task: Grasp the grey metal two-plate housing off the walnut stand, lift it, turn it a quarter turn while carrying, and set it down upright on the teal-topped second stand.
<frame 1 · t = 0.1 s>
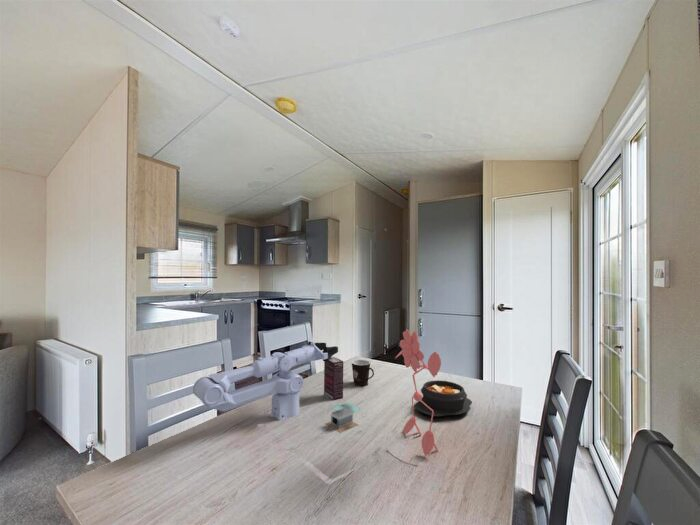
hand: (331, 347, 129), 22 cm above the table, tool horizontal, fingers open, 7 cm apart
stand b: (346, 411, 120), on the table
coffee mug: (361, 385, 147), on the table
supplement box: (333, 398, 132), on the table
casserole: (443, 409, 123), on the table
stand a: (341, 427, 108), on the table
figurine: (409, 447, 97), on the table
housing: (341, 424, 108), point 1 cm above the table, touching stand a
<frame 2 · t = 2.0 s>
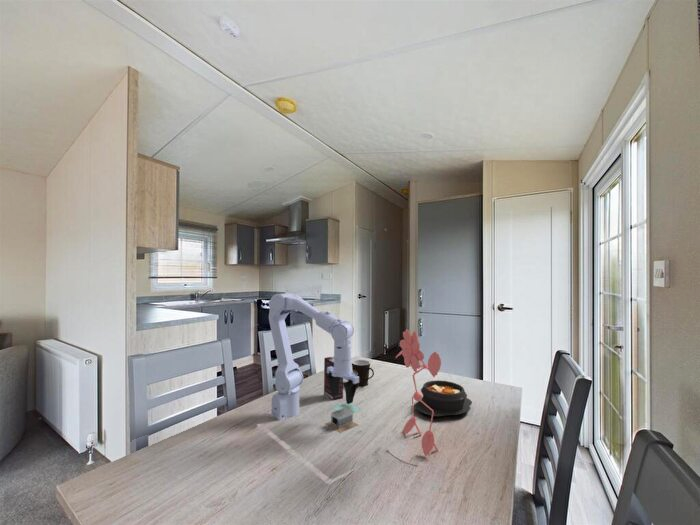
hand: (342, 399, 108), 9 cm above the table, tool pointing down, fingers open, 7 cm apart
nothing on the table moved.
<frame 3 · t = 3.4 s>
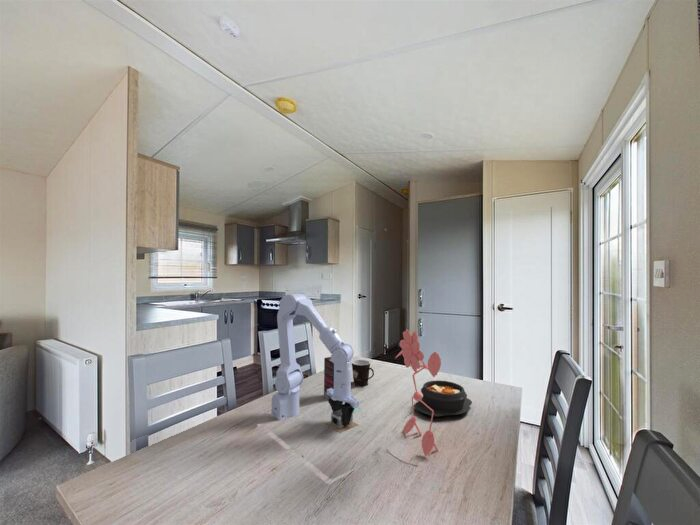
hand: (341, 422, 108), 2 cm above the table, tool pointing down, fingers closed on housing, 4 cm apart
housing: (341, 424, 108), point 1 cm above the table, touching gripper, stand a
everything else where it was.
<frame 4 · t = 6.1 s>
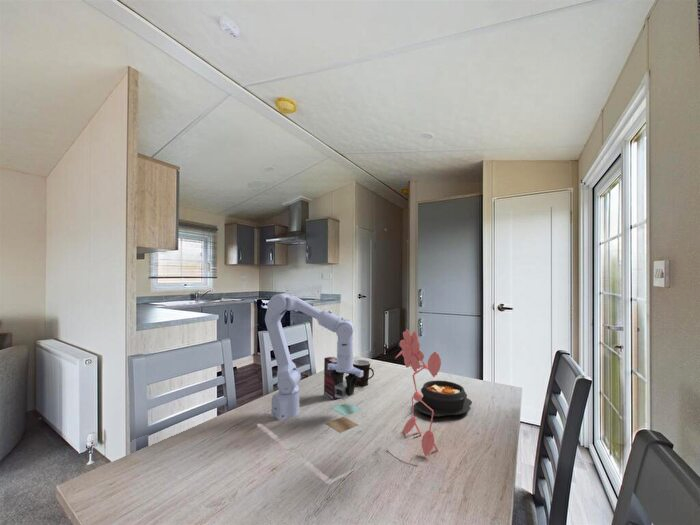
hand: (344, 393, 114), 9 cm above the table, tool pointing down, fingers closed on housing, 4 cm apart
housing: (344, 395, 114), point 8 cm above the table, touching gripper
everything else where it was.
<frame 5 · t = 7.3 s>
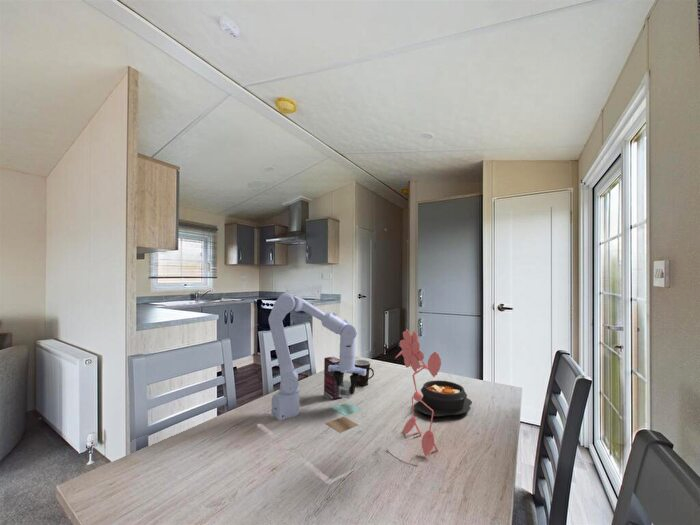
hand: (346, 392, 120), 7 cm above the table, tool pointing down, fingers closed on housing, 4 cm apart
housing: (346, 394, 120), point 6 cm above the table, touching gripper
everything else where it was.
when the fingers open (3 cm above the table, at t = 8.6 s): housing stays where it is, resting on stand b.
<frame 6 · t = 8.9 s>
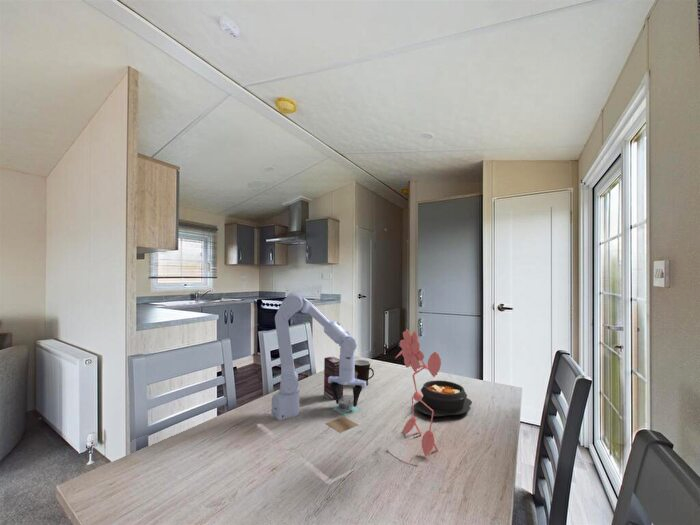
hand: (346, 404, 120), 3 cm above the table, tool pointing down, fingers open, 6 cm apart
housing: (346, 408, 120), point 1 cm above the table, touching stand b
everything else where it was.
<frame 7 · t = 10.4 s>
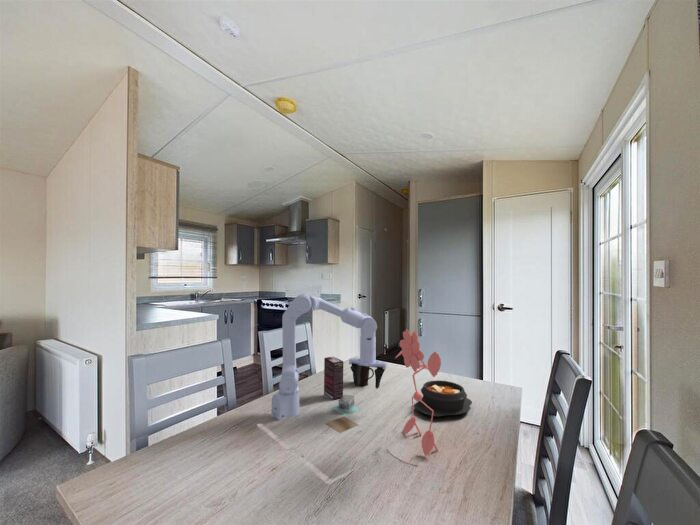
hand: (367, 386, 119), 10 cm above the table, tool pointing down, fingers open, 7 cm apart
nothing on the table moved.
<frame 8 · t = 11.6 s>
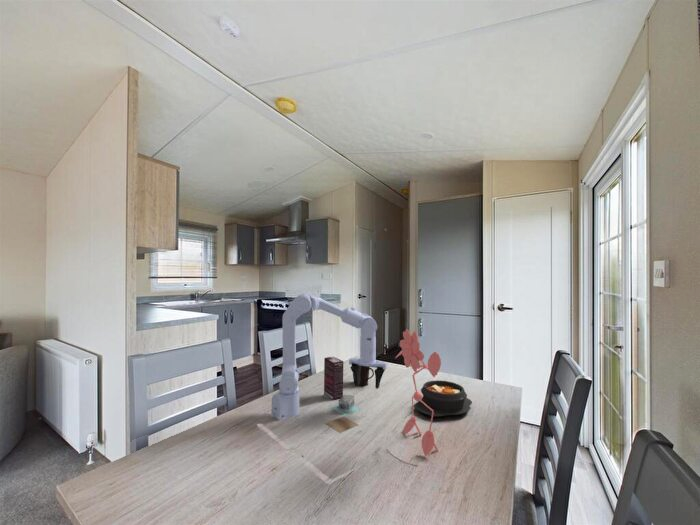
hand: (367, 386, 119), 10 cm above the table, tool pointing down, fingers open, 7 cm apart
nothing on the table moved.
at the end: housing 0.1 cm off-centre on the stand b, point 1.0 cm above the stand b's base; housing tilted 0°; the gripper is holding nothing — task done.
